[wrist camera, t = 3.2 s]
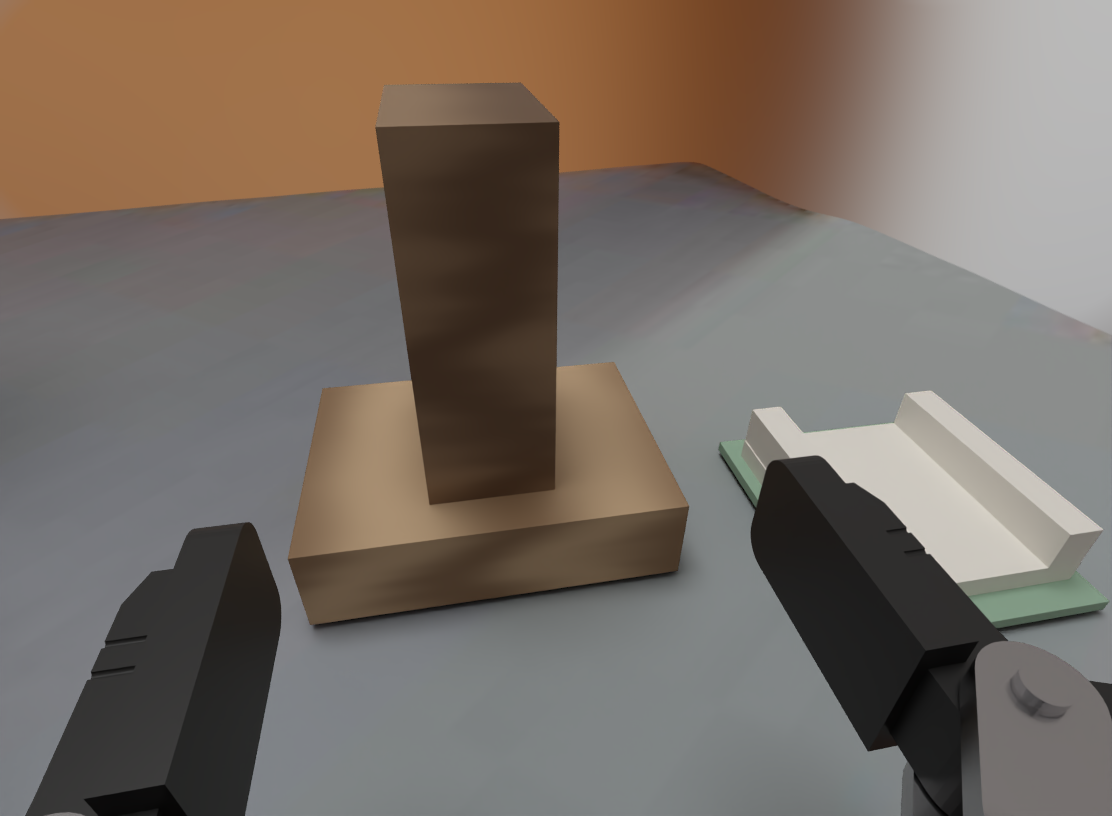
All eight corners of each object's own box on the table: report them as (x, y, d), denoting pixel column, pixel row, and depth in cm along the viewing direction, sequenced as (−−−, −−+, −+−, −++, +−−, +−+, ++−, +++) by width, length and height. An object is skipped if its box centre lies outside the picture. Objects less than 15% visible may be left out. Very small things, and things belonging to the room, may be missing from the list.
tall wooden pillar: (429, 505, 20) (375, 127, 13) (425, 399, 25) (384, 84, 18) (555, 489, 20) (559, 122, 14) (527, 389, 25) (520, 82, 19)
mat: (850, 654, 19) (854, 646, 19) (718, 449, 27) (720, 442, 27) (1103, 609, 20) (1109, 601, 20) (906, 427, 28) (909, 420, 28)
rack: (850, 615, 20) (872, 565, 18) (741, 455, 26) (751, 409, 25) (1069, 579, 21) (1104, 529, 20) (913, 435, 27) (932, 390, 26)
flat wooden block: (310, 624, 20) (287, 558, 18) (336, 447, 27) (322, 388, 25) (677, 570, 22) (689, 506, 20) (609, 418, 29) (614, 362, 27)
